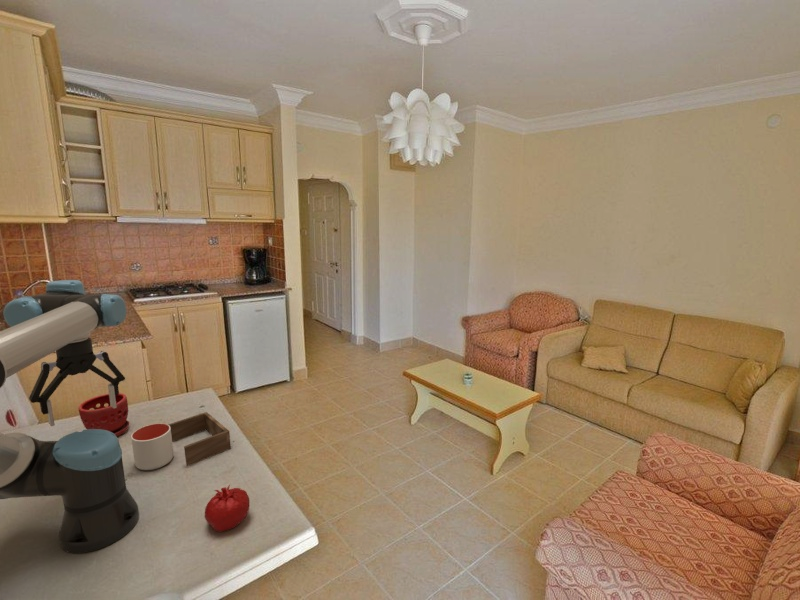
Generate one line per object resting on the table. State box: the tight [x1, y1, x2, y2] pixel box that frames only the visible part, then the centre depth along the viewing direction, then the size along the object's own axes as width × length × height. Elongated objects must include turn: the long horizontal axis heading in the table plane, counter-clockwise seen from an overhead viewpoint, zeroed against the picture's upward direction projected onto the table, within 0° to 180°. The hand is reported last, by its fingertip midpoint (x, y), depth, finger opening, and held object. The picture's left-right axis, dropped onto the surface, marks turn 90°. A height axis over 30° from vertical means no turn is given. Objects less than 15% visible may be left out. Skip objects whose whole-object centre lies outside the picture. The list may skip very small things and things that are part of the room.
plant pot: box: [77, 392, 130, 437], centre depth 136 cm, size 13×13×12 cm
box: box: [167, 411, 232, 467], centre depth 130 cm, size 18×13×6 cm
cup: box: [130, 422, 175, 471], centre depth 121 cm, size 10×10×10 cm
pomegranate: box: [204, 484, 251, 532], centre depth 98 cm, size 10×10×9 cm
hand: (84, 415), depth 110 cm, fingers open, 13 cm apart
